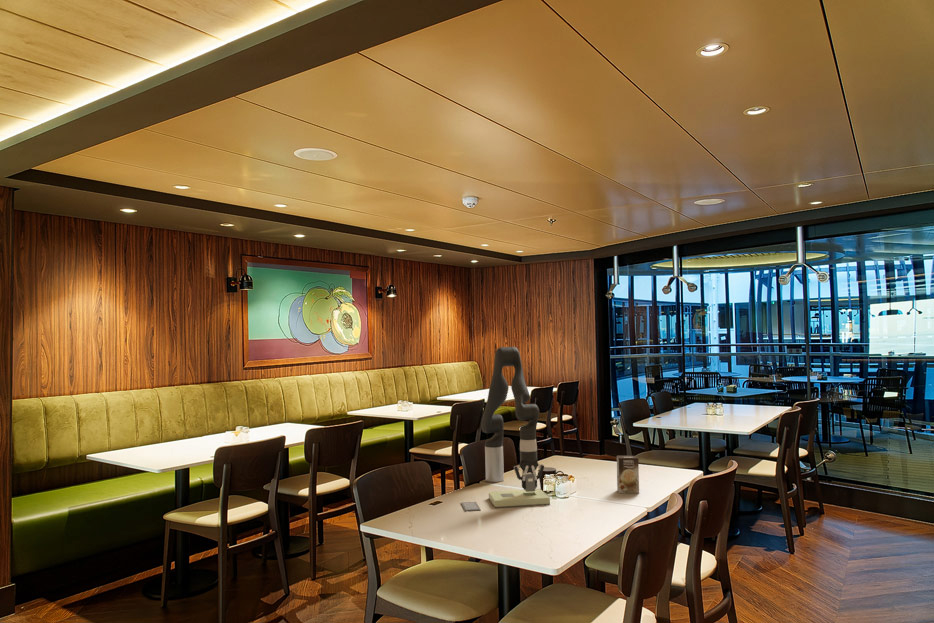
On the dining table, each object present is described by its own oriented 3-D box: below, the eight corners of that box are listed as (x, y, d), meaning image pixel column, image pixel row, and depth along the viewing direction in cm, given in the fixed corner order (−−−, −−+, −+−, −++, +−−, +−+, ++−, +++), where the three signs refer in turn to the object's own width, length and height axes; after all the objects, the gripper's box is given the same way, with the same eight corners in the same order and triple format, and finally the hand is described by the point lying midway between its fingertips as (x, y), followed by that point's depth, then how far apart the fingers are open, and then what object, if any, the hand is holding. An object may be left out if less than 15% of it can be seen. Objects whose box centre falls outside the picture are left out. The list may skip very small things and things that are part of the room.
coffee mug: (536, 492, 281) (536, 470, 281) (540, 487, 289) (540, 466, 289) (561, 493, 277) (561, 471, 277) (564, 489, 285) (564, 467, 286)
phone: (460, 504, 264) (460, 502, 264) (475, 504, 265) (475, 501, 265) (465, 513, 251) (465, 510, 251) (480, 512, 252) (480, 509, 252)
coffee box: (619, 493, 275) (618, 458, 276) (617, 490, 281) (616, 455, 282) (639, 493, 274) (638, 457, 275) (637, 490, 280) (636, 455, 281)
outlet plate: (488, 498, 271) (488, 491, 271) (540, 495, 274) (540, 488, 274) (495, 508, 255) (494, 500, 255) (550, 504, 258) (549, 497, 258)
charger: (524, 489, 267) (523, 473, 267) (533, 489, 268) (532, 473, 268) (526, 491, 263) (525, 475, 263) (535, 491, 264) (534, 475, 264)
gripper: (541, 447, 271) (543, 485, 270) (510, 448, 269) (512, 487, 268) (546, 450, 264) (547, 489, 263) (514, 451, 262) (515, 491, 261)
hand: (529, 488), depth 265 cm, fingers closed on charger, 4 cm apart
